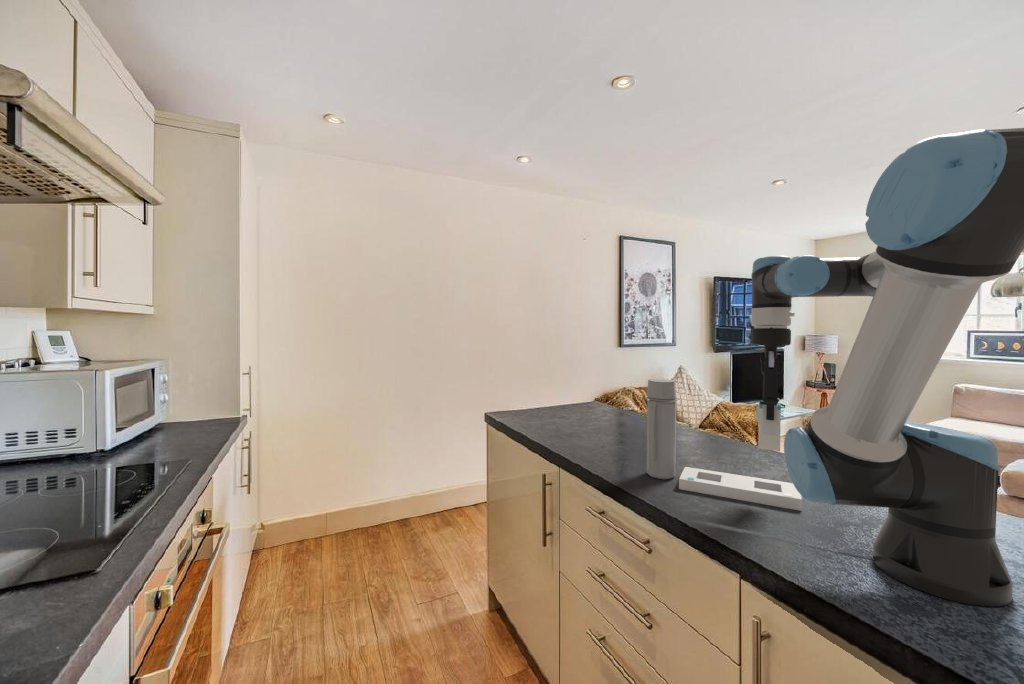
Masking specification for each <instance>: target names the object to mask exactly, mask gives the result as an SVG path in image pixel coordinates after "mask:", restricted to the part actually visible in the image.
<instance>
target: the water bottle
mask: <svg viewBox="0 0 1024 684" xmlns="http://www.w3.org/2000/svg"><path fill="white" fill-rule="evenodd" d="M647 381H648V382H647V388H646V397H645V401H646V403H647V405H646V407H647V408H646V409H647V412H646V473H647V474H648V475H649V476H650V477H652V478H653V479H658V480H670V479H674V477H675V476H676V470H677V469H676V468H677V467H676V466H677V465H676V459H677V458H676V457H677V401H678V398H677V390H676V380H672V379H667V378H666V379H665V378H652V379H651V378H650V379H648V380H647Z"/></svg>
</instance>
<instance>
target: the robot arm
mask: <svg viewBox="0 0 1024 684" xmlns="http://www.w3.org/2000/svg"><path fill="white" fill-rule="evenodd" d="M869 195H870V196H869V198H868V201H867V205H866V209H865V216H866V217H867V218H868V219H867V221H865V223H864V224H865V225H864V226H865V231H866V233H867V236H868V239H870V241H872V242H873V244H874V245H876V249H875V251H873V252H871V253H869V254H866V255H864V256H856V257H855V256H854V257H851V256H850V257H818V256H816V255H812V254H811V255H810V254H808V255H801V256H798V255H797V256H794V257H790V256H787V255H770V256H764V257H759V258H757V259H755V260H754V261H753V263H752V270H751V271H752V273H751V316H750V317H751V319H750V320H751V321H750V325H751V326H752V327H753V328H752V329H751V334H750V335H751V336H750V337H751V338H750V339H751V345H752V346H764V351H763V353H761V352H760V353H759V361H760V363H761V364H760V371H761V374H762V394H761V395H762V397H761V398H762V401H761V400H760V404H762V405H763V426H762V434H767V435H777V404H778V403H780V397H778V388H779V374H780V372H781V362H782V353H778V346H781V347H782V346H783V347H784V346H785V347H786V346H790V345H791V344H792V330H791V328H788V327H790V326H791V325H792V317H795V312H794V311H792V299H793V298H820V297H821V298H823V297H824V298H825V297H828V298H829V297H830V298H831V297H872V299H871V302H870V304H869V306H868V308H867V312H866V314H865V316H864V317H863V318H864V319H863V321H862V323H861V325H860V328H859V330H858V334H857V336H856V338H855V339H854V340H855V341H854V343H853V346H852V348H851V350H850V353H849V356H848V357H847V360H846V363H845V365H844V368H843V370H842V371H841V375H840V377H839V380H838V383H837V385H836V387H835V389H834V392H833V394H832V397H831V399H830V402H829V403H828V406H826V405H825V406H823V407H819V408H818V409H816V410H815V411H814V412H813V413H812V415H811V417H810V419H809V422H808V424H807V427H801V426H796V427H793V428H791V427H790V428H789V429H788V430H787V431H786V433H785V435H784V439H783V452H784V460H785V465H786V470H787V473H788V475H789V478H790V481H791V483H793V484H794V486H795V488H796V489H797V491H798V492H799V493H800V494H801V497H802V498H803V499H805V500H807V501H810V502H812V503H818V504H819V503H820V504H826V505H830V506H853V507H867V508H868V507H870V508H887V509H888V510H887V517H886V518H885V520H884V522H883V524H882V526H881V528H880V530H879V532H878V534H877V536H876V538H875V539H874V541H873V546H872V560H873V562H874V563H875V565H876V566H877V567H878V568H879V569H880V570H882V571H883V572H885V574H887V575H889V576H890V577H892V578H893V579H895V580H897V581H899V582H900V583H904V584H905V585H907V586H909V587H912V588H914V589H916V590H918V591H922V592H925V593H926V594H930V595H933V596H936V597H938V598H941V599H942V598H943V599H946V600H949V601H953V602H956V603H961V604H966V605H971V606H977V607H978V606H979V607H1002V606H1006V605H1009V604H1010V603H1012V601H1013V593H1014V592H1013V589H1014V588H1013V587H1014V586H1013V584H1014V583H1013V580H1012V578H1011V575H1010V573H1009V571H1008V567H1007V566H1006V564H1005V561H1004V558H1003V556H1002V553H1001V551H1000V549H999V545H998V544H997V539H996V538H997V537H996V535H997V534H996V532H997V531H996V530H997V528H996V527H997V504H998V503H997V501H998V488H999V487H998V486H999V473H1000V472H1001V468H1000V467H999V459H998V458H999V457H998V456H999V454H998V448H997V446H996V445H995V444H994V443H993V441H991V440H989V439H988V438H986V437H983V436H980V435H978V434H974V433H970V432H965V431H961V430H957V429H953V428H948V427H943V426H937V425H932V424H926V423H920V422H914V421H909V420H908V418H909V417H910V415H911V413H912V411H913V410H914V408H915V406H916V404H917V402H918V400H919V399H920V397H921V395H922V393H923V391H924V389H925V388H926V386H927V384H928V382H929V381H930V379H931V377H932V376H933V373H934V371H935V369H936V368H937V365H938V364H939V363H940V360H941V359H942V357H943V355H944V354H945V352H946V350H947V348H948V346H949V344H950V343H951V341H952V338H953V337H954V334H955V333H956V331H957V329H958V328H959V326H960V324H961V323H962V320H963V319H964V316H965V315H966V313H967V312H968V309H969V307H970V306H971V304H972V302H973V300H974V298H975V297H976V295H977V293H978V291H979V289H980V287H981V286H982V284H984V283H986V282H990V281H992V280H995V279H999V278H1002V277H1005V276H1007V275H1008V274H1010V272H1011V270H1013V267H1014V266H1015V264H1016V262H1017V260H1018V259H1019V257H1020V255H1021V254H1022V252H1024V127H1012V128H997V129H996V128H993V129H971V130H968V131H963V132H957V133H956V132H955V133H948V134H939V135H936V136H932V137H927V138H925V139H922V140H920V141H918V142H916V143H915V144H912V145H911V146H909V147H908V148H907V149H906V150H905V151H904V152H902V153H900V154H899V155H898V156H896V157H895V158H894V159H893V160H892V161H891V163H889V165H888V166H887V167H886V168H885V169H884V170H883V172H882V174H881V175H880V176H879V178H878V179H877V181H876V183H875V185H874V186H873V188H872V191H871V192H870V194H869Z"/></svg>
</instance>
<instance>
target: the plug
mask: <svg viewBox="0 0 1024 684" xmlns="http://www.w3.org/2000/svg"><path fill="white" fill-rule="evenodd" d="M760 401H761V400H760ZM760 401H758V405H756V407H755V421H756V422H758V449H759V450H765V451H766V450H767V451H776V452H780V451H781V423H782V422H781V413H782V412H781V411H782V405H781V402H778V404H777V435H767V434H762V426H763V405H762V404H760Z"/></svg>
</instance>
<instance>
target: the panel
mask: <svg viewBox="0 0 1024 684" xmlns="http://www.w3.org/2000/svg"><path fill="white" fill-rule="evenodd" d="M678 489H679V490H682V491H688V492H694V493H700V494H704V495H705V494H706V495H710V496H715V497H723V498H727V499H733V500H738V501H745V502H749V503H755V504H761V505H765V506H766V505H767V506H772V507H778V508H783V509H787V510H789V509H790V510H794V511H798V512H799V511H800V512H802V511H803V496H802V495H801V494H800V493H799V492H798V491H797V489H796V488H795V486H794V484H793V482H788V481H787V482H786V481H780V480H774V479H773V480H772V479H767V478H761V477H755V476H754V477H753V476H748V475H741V474H736V473H735V474H734V473H728V472H722V471H715V470H709V469H702V468H697V467H696V468H695V467H689V466H685V467H684V468H683V470H682V472H681V474H680V477H679V478H678Z"/></svg>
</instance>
